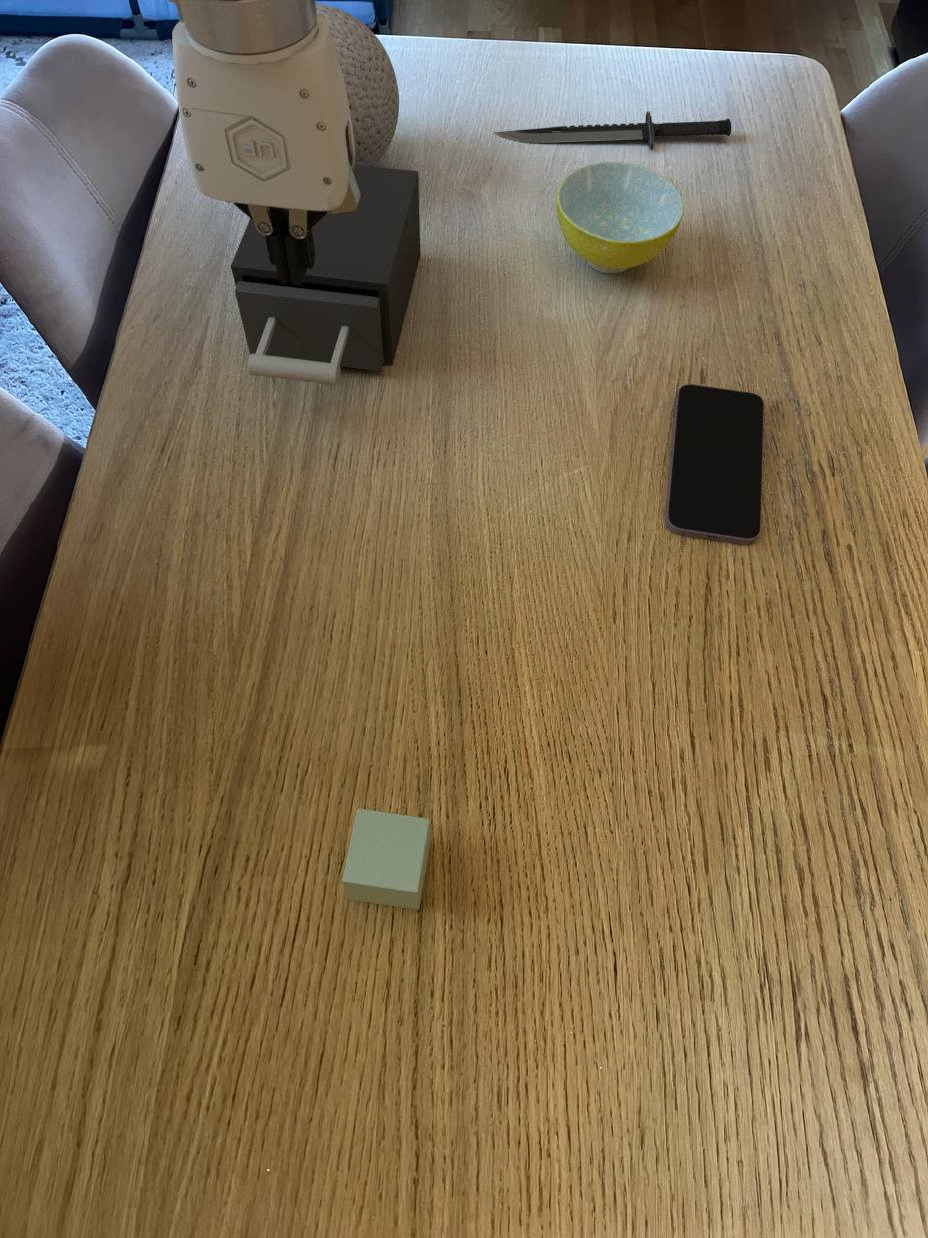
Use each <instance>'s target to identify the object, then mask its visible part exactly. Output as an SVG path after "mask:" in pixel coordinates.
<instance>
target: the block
mask: <svg viewBox="0 0 928 1238" xmlns="http://www.w3.org/2000/svg"><path fill="white" fill-rule="evenodd" d="M431 840H432V838H431V819H430V818H427V817H421V816H420V817H419V816H414V815H406V814H400V813H394V812H388V811H387V812H386V811H379V810H373V809H366V808H359V807H358V808H357V809H356V812H355V816H354V822H353V827H352V832H351V836H350V840H349V846H348V851H347V855H346V860H345V865H344V870H343V874H342V879H341V882H342V885H343V888H344V891H345V894H346V896H347V898H348V899H347V900H349V901H355V902H362V903H369V904H375V905H381V906H387V907H395V908H400V909H401V908H402V909H406V910H407V909H408V910H413V911H419V910H420V909H421V903H422V896H423V891H424V885H425V879H426V871H427V865H428V860H429V854H430V849H431V848H430V847H431V842H432V841H431Z"/></svg>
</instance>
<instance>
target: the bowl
mask: <svg viewBox="0 0 928 1238" xmlns="http://www.w3.org/2000/svg"><path fill="white" fill-rule="evenodd" d="M557 188H558V189H557V192H556V213H557V214H556V215H557V219H558V224H559V226H560V230H561V233H562V235H563V237H564V239H565V241H566V243H567V244H568V246H569V247H570V248H571V249H572V250H573V251H574V252H575V254H577V255H578V256H579V257H580V258H582V259H583V260H585V262H586V263H587V264H588V265H589V266H590V268H592V269H594V270H596V271H597V272H600V273H603V274H611V275H612V274H613V275H614V274H621V273H623V272H625V271H627V270H629V269H630V268H635V267H639V266H641V265H643V264H645V263H647V262H649V261H651V260H652V259H654V258H655V257H656V256H658V255H659V254H660V253H661V252H662V251H663V250H664V249H666V247H667V246H668V245H669V243H670V242H671V241H672V239H673V238H674V236H675V235H676V233H677V231H678V229H679V227H680V224H681V222H682V219H683V216H684V213H685V211H684V210H685V205H684V200H683V197H682V195H681V193H680V191H679V189H678V188H677V187H676V186H675V185H674V184H673V183H672V182H671V181H670V180H669V179H668V178H667V177H665V176H664V175H662V174H661V173H659V172H656V171H654V170H653V169H650V168H648V167H645V166H643V165H640V164H635V163H631V162H625V161H601V162H595V163H591V164H587V165H583V166H581V167H578V168H576V169H575V170H573V171H571V172H570V173H569V174H567V175H566V176H565V177H564V178H563V180H562V181H561V182H560V184H559V186H558V187H557Z"/></svg>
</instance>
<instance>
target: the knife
mask: <svg viewBox="0 0 928 1238" xmlns="http://www.w3.org/2000/svg"><path fill="white" fill-rule="evenodd" d="M493 133H494V134H495V135H498V136H500V137H502V138H505V139H508V140H513V141H517V142H522V143H571V142H572V143H573V142H575V143H577V142H598V141H599V142H600V141H625V140H626V141H627V140H642V141H647V144H648V146H649V150H650V151H653V150H654V146H655V139H654V138H655V137H656V138H657V137H659V138H660V137H662V138H669V137H670V138H671V137H694V136H695V137H696V136H726V137H730V136H731V134H732V121H731V119H730V118H725V119H720V120H719V119H718V120H707V121H680V122H677V121H676V122H662V123H654V122H653V119H652V115H651V111H650V110H647V111H646V112H645V122H637V123H636V124H635V123H634V122H630V123H628V124H626V123H620V124H617V123H612V124H611V125H610V124H608V123H604V124H603V125H601V124H595V125H592V124H587V125H583V124H579V125H578V126H576V125H574V124H573V125H569V126H567V125H561V126H551V127H549V126H548V127H539V128H530V129H529V128H528V129H516V130H504V131H494V132H493Z"/></svg>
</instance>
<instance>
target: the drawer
mask: <svg viewBox="0 0 928 1238" xmlns="http://www.w3.org/2000/svg"><path fill="white" fill-rule="evenodd" d="M253 280H254V283H252V282H243V281H238V284H237V286H235V289H234V294H235V298H236V301H237V306H238V311H239V315H240V318H241V319H240V320H241V323H242V327H243V331H244V335H245V340H246V344H247V347H248V352H249V355H248V359H247V371H248V374H249V375H251V376H258V377H266V378H267V377H268V378H275V379H283V380H291V381H298V382H299V381H301V382H308V383H315V384H322V385H323V384H324V385H332V386H338V385H339V383H340V379H341V367H343V368H344V367H345V368H353V369H361V370H369V371H377V372H382V371H383V366H384V365H383V363H384V356H383V342H382V328H381V314H380V300H379V292H378V291H373V290H365V289H356V288H348V287H339V286H330V285H322V284H313V283H305V282H303V283H302V285H301V286H300V285H294V284H293V283H291V281H290V282H288V283H287V284H282V283H279V279H270V278H262V277H253Z"/></svg>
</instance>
